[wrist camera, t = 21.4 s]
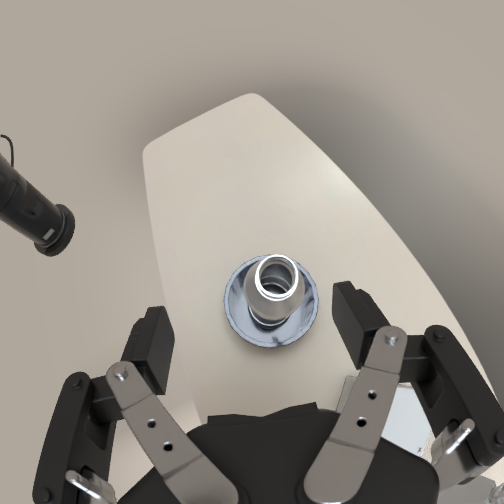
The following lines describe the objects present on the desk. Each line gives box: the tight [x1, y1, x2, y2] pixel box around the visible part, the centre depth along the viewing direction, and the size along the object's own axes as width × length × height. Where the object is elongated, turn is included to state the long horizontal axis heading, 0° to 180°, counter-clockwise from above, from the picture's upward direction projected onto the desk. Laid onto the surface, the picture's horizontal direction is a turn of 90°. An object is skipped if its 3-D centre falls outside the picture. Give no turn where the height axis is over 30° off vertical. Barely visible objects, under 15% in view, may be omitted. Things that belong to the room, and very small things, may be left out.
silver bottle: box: [243, 255, 305, 329], centre depth 33 cm, size 6×7×20 cm
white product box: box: [336, 376, 431, 457], centre depth 30 cm, size 9×9×15 cm
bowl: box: [224, 255, 318, 348], centre depth 40 cm, size 12×12×7 cm
